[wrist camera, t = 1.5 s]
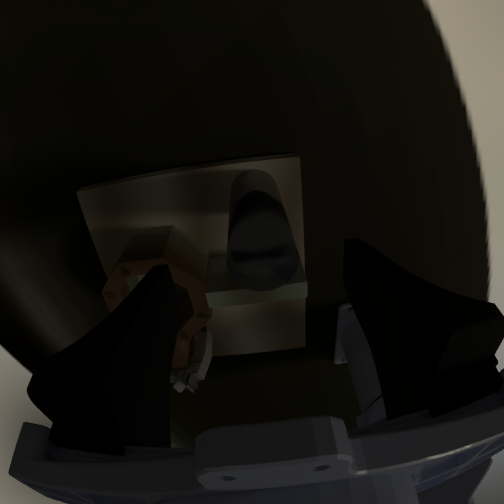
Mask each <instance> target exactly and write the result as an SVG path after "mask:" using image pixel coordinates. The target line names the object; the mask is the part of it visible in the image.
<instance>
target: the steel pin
mask: <svg viewBox="0 0 504 504" xmlns="http://www.w3.org/2000/svg"><path fill="white" fill-rule="evenodd" d="M226 264H227V270H228V272H229V275H230V276H231V278H232V279H233V280H234V281H235V282H236V283H237V284H238V285H240V286H242V287H243V288H246V289H248V290H252V291H270V290H274V289H277V288H279V287H281V286H283V285H284V284H286V283H287V282H288V281H290V280H291V278H292V277H293V276H294V275H295V273H296V271H297V268H298V264H299V255H298V251H297V248H296V244H295V241H294V238H293V234H292V231H291V228H290V225H289V221H288V218H287V215H286V212H285V208H284V205H283V202H282V199H281V196H280V193H279V189H278V186H277V183H276V181H275V180H274V178H273V177H272V176H271V175H270V174H268V173H267V172H265V171H262V170H257V169H251V170H247V171H244V172H242V173H241V174H239V175H238V176H237V177H236V178H235V179H234V181H233V183H232V185H231V189H230V206H229V223H228V242H227V261H226Z"/></svg>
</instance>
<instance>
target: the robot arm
mask: <svg viewBox="0 0 504 504" xmlns="http://www.w3.org/2000/svg"><path fill="white" fill-rule="evenodd" d="M343 282H344V286H345V289H346V292H347V295H348V299H349V301H350V303H344V304H341V305H340V306H339V308H338V318H337V330H336V340H335V350H334V363H336V364H340V363H346V362H347V364H348V367H349V371H350V374H351V377H352V381H353V384H354V388H355V391H356V394H357V398H358V401H359V405H360V409H361V412H362V415H361V416H359V417H357V418H356V422H357V426H358V428H355V429H351V430H346V426H345V424H344V422H343V420H341V419H339V418H335V417H331V416H328V415H327V416H310V417H304V418H297V419H291V420H283V421H275V422H267V423H258V424H248V425H236V426H223V427H218V428H212V429H208V430H206V431H205V432H203V433H201V434H200V435H198V436H197V437H196V446H195V448H171V439H170V414H169V407H170V375H171V367H172V361H173V355H174V350H175V344H176V339H177V334H178V328H179V322H180V299H179V296H178V293H177V290H176V287H175V284H174V281H173V278H172V275H171V272H170V269H169V266H168V264H163V265H156V266H153V267H152V268H151V269H150V270H149V272H148V273H147V274H146V275H145V276H144V277H143V278H142V280H141V281H140V282H139V283H138V284H137V285H136V287H135V288H134V289H133V290H132V291H131V292H130V293H129V295H128V296H127V297H126V298H125V299H124V300H123V301H122V302H121V303H120V304H119V305H118V306H117V307H116V308H115V310H114V311H113V312H111V313H110V314H109V315H108V316H107V317H106V318H105V319H104V320H103V321H102V322H101V323H99V324H98V325H97V326H96V327H95V328H93V329H92V330H91V331H90V332H88V333H87V334H86V335H84V336H83V337H82V338H80V339H79V340H78V341H76V342H75V343H73V344H72V345H70V346H68V347H67V348H65V349H64V350H62V351H60V352H58V353H57V354H55V355H53V356H51V357H49V358H47V359H45V360H43V361H41V362H39V363H37V366H36V368H35V370H34V373H33V375H32V377H31V380H30V382H29V385H28V387H27V394H28V396H29V398H30V400H31V401H32V402H33V403H34V405H35V406H36V407H37V408H38V409H40V411H41V412H43V414H45V415H46V416H47V417H48V418H49V419H50V420H51V421H52V422H53V424H52V427H51V429H50V428H48V427H46V426H43V425H38V424H33V423H28V422H24V423H23V425H22V429H21V431H20V434H19V438H18V441H17V444H16V447H15V451H14V454H13V457H12V461H11V464H10V468H9V472H8V473H9V475H11V476H12V477H14V478H15V479H17V480H18V481H20V482H22V483H23V484H25V485H27V486H29V487H30V488H32V489H33V490H35V491H37V492H39V493H41V494H43V495H44V496H46V497H48V498H51V499H54V500H58V501H61V502H64V503H68V504H475V503H474V501H473V498H472V495H473V493H474V492H475V490H476V489H477V487H478V486H479V484H480V483H481V481H482V480H483V478H484V476H485V475H486V473H487V472H488V470H489V468H490V466H491V464H492V458H491V457H492V456H493V455H495V454H497V453H498V452H500V451H502V450H503V449H504V369H502V370H501V371H500V372H498V370H497V368H496V365H497V364H498V360H497V358H496V357H495V353H496V351H497V349H498V348H499V346H500V344H501V342H502V340H503V338H504V316H503V314H502V313H501V312H500V310H499V309H498V308H497V306H496V305H495V304H494V303H490V302H485V301H481V300H476V299H472V298H469V297H466V296H462V295H459V294H456V293H453V292H451V291H448V290H445V289H443V288H441V287H438V286H436V285H434V284H431V283H429V282H427V281H425V280H423V279H421V278H419V277H417V276H416V275H414V274H412V273H410V272H409V271H407V270H405V269H404V268H402V267H400V266H399V265H397V264H396V263H394V262H393V261H391V260H390V259H388V258H387V257H385V256H384V255H382V254H381V253H380V252H378V251H377V250H375V249H374V248H373V247H371V246H370V245H368V244H367V243H365V242H364V241H363V240H361V239H359V238H354V239H346V240H344V264H343ZM350 307H351V308H350ZM348 308H350V309H348Z"/></svg>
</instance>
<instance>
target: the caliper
mask: <svg viewBox="0 0 504 504" xmlns="http://www.w3.org/2000/svg"><path fill="white" fill-rule="evenodd" d="M212 342H213V334H212V333H211V331H210V330H209V329H208V327H205V328H202V329H201V332H200V335H199V337H198V340H197V342H196V345H195V347H194V350H193V352H192V355H191V356H190V362H189V368H188V369H183V370H179V371H177V372H176V373H177V375H176V373H175V370H174V368H173V366H172V367H171V375H170V382H174V383H173V387H174V388H175V389H176V390H177V391H178V392H179V393H180V392H182V391H183V389H184V388H185V387H187V388H188V389H189V390H190V391H191V392H194V389H195V386H196V383H197V380H204V378H205V375H206V372H207V370H208V367H209V364H210V361H211V356H212Z"/></svg>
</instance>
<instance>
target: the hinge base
mask: <svg viewBox="0 0 504 504" xmlns="http://www.w3.org/2000/svg"><path fill="white" fill-rule="evenodd" d="M251 169H257V170H262V171H265V172H267V173H268V174H270V175H271V176H272V177H273V178H274V180H275V181H276V183H277V186H278V189H279V193H280V196H281V199H282V202H283V205H284V208H285V212H286V215H287V218H288V221H289V225H290V228H291V231H292V234H293V238H294V241H295V244H296V248H297V251H298V255H299V264H298V268H297V271H296V273H295V275H294V276H293V277H292V278H291V280H290V281H288V282H287V283H286V284H284V285H283V286H281V287H279V288H277V289H274V290H270V291H252V290H248V289H246V288H243V287H242V286H240V285H238V284H237V283H236V282H235V281H234V280H233V279H232V278H231V276H230V275H229V272H228V270H227V264H226V261H227V242H228V223H229V206H230V189H231V185H232V183H233V181H234V179H235V178H236V177H237V176H238V175H239V174H241V173H242V172H244V171H247V170H251ZM76 193H77V196H78V200H79V203H80V206H81V209H82V212H83V215H84V218H85V221H86V223H87V226H88V229H89V232H90V235H91V237H92V240H93V243H94V245H95V248H96V251H97V253H98V256H99V258H100V261H101V263H102V266H103V268H104V271H105V273H106V276H107V278H108V279H107V281H106V283H105V285H104V287H103V289H102V291H101V293H102V295H103V297H104V300H105V302H106V304H107V306H108V308H109V310H110V312H113V311H114V310H115V308H116V307H117V306H118V305H119V304H120V303H121V302H122V301H123V300H124V299H125V298H126V297H127V296H128V295H129V293H130V292H131V291H132V290H133V289H134V288H135V287H136V285H137V284H138V283H139V282H140V281H141V280H142V278H143V277H144V276H145V275H146V274H147V273H148V272H149V270H150V269H151V268H152V267H153V266H156V265H163V264H168V266H169V269H170V272H171V275H172V278H173V281H174V284H175V287H176V290H177V293H178V296H179V299H180V322H179V328H178V334H177V339H176V344H175V350H174V355H173V361H172V366H173V368H174V370H175V373H176V372H177V371H179V370H183V369H188V368H189V362H190V356H191V355H192V352H193V350H194V347H195V345H196V342H197V340H198V337H199V335H200V332H201V329H202V328H205V327H208V329H209V330H210V331H211V333H212V334H213V342H212V356H211V357H213V356H226V355H237V354H248V353H258V352H267V351H276V350H285V349H293V348H300V347H305V297H307V279H306V276H305V263H304V232H303V208H302V188H301V171H300V157H299V155H298V154H297V153H289V154H278V155H268V156H259V157H250V158H242V159H234V160H227V161H219V162H212V163H205V164H199V165H192V166H186V167H180V168H174V169H168V170H162V171H157V172H151V173H146V174H141V175H135V176H130V177H126V178H121V179H116V180H111V181H107V182H102V183H98V184H93V185H89V186H85V187H82V188H81V189H79V190H78V191H77V192H76ZM176 375H177V373H176ZM198 382H199V380H197V383H196V386H195V389H194V390H198ZM184 390H189V389H188V388H187V387H185V388H184Z"/></svg>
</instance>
